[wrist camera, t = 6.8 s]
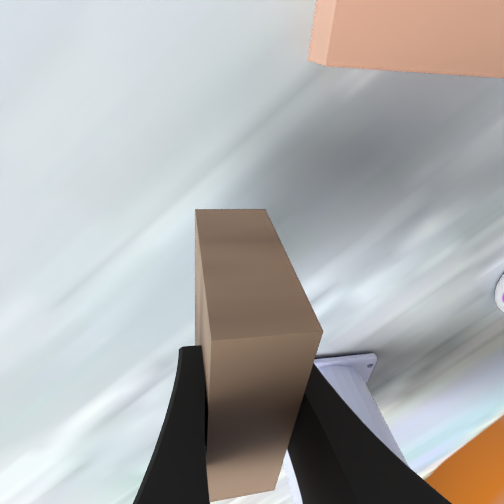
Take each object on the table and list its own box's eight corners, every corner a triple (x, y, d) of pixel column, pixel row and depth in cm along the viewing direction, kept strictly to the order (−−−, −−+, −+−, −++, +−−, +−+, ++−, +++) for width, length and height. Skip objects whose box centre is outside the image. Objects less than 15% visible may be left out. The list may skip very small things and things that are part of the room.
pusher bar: (245, 358, 16) (274, 490, 12) (194, 363, 16) (204, 503, 11) (265, 209, 12) (323, 331, 7) (195, 209, 11) (211, 340, 7)
